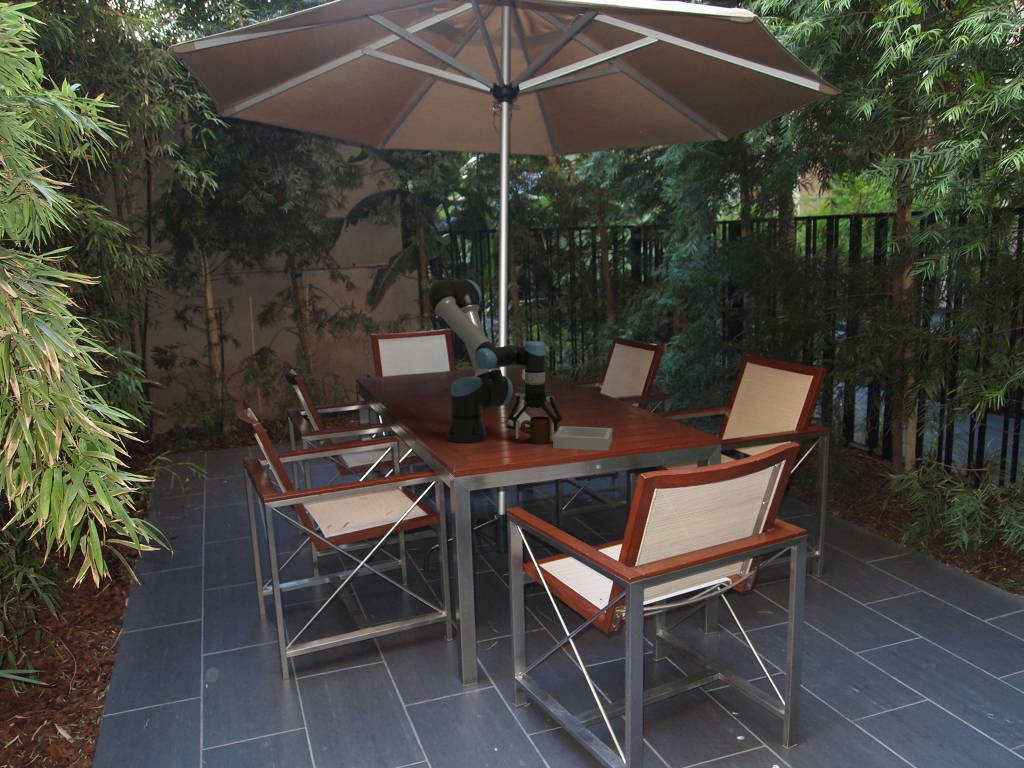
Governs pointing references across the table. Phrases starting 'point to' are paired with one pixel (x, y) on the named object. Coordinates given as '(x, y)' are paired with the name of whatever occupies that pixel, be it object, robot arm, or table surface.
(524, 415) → the flower in vase
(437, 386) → the table surface
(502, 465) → the table surface
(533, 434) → the mug
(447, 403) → the table surface
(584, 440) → the tray
